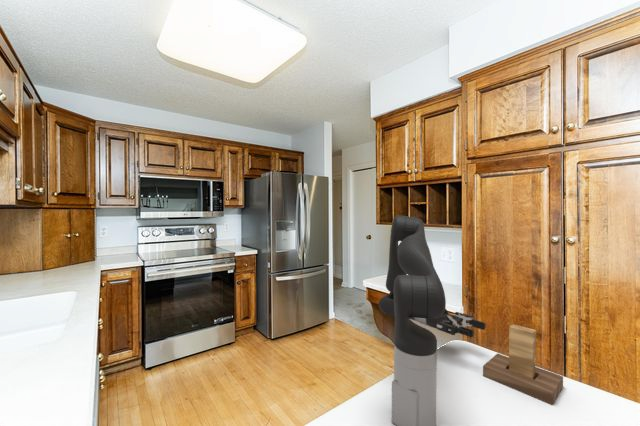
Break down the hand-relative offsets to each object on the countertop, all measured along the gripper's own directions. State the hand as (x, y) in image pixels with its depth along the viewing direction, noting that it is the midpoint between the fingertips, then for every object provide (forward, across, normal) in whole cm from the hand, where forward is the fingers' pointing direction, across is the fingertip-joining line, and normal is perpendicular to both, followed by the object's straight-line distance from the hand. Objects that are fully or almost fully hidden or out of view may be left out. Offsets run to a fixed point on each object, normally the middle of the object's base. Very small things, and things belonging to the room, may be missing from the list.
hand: (479, 330), depth 89 cm
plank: (+11, 0, +11) cm, 16 cm away
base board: (+11, 0, +11) cm, 15 cm away
